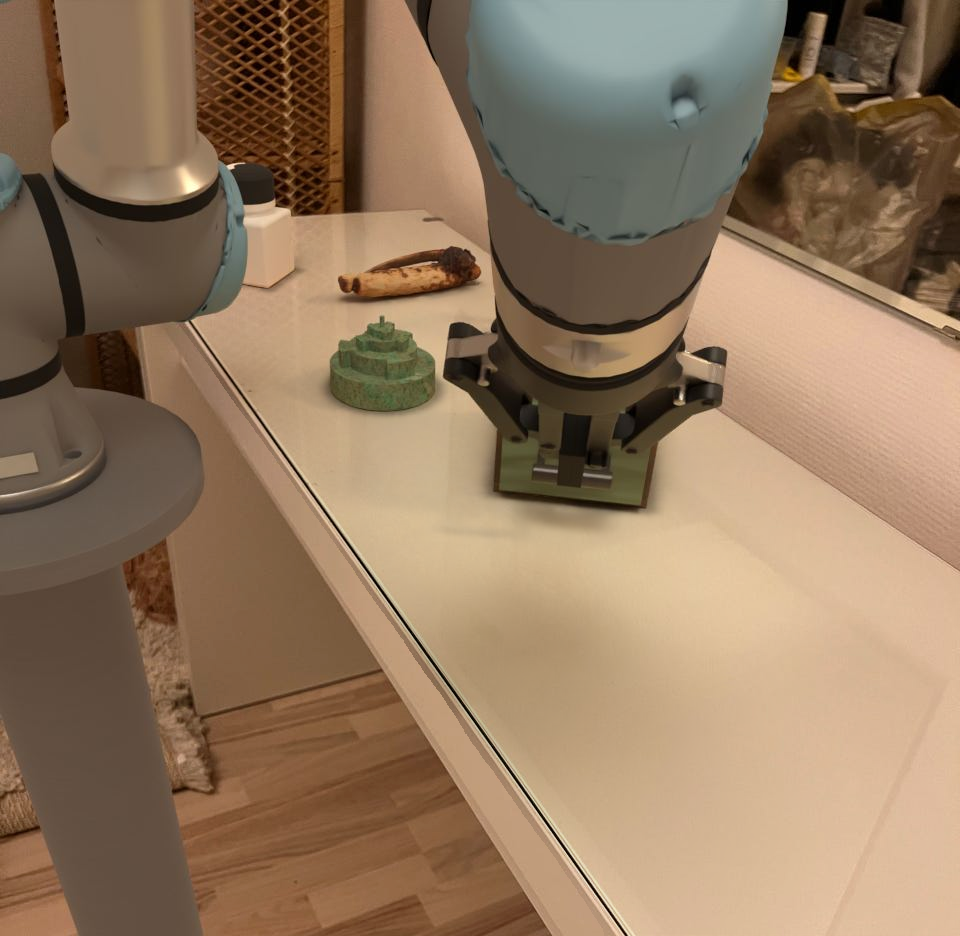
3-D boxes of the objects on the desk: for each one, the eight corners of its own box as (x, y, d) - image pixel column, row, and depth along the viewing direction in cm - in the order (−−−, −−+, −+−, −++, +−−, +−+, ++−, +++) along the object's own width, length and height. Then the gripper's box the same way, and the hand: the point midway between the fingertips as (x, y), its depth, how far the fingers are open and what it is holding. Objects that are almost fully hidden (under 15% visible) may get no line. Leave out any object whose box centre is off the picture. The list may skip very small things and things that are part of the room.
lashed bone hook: (453, 270, 124) (318, 285, 116) (455, 230, 121) (316, 243, 113) (490, 292, 117) (349, 309, 110) (493, 251, 114) (348, 266, 107)
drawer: (640, 533, 76) (656, 441, 71) (492, 517, 76) (498, 425, 72) (641, 428, 89) (655, 345, 84) (516, 415, 90) (522, 332, 85)
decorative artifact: (353, 418, 90) (452, 400, 94) (351, 344, 86) (454, 328, 90) (316, 375, 97) (409, 360, 101) (311, 304, 93) (409, 291, 96)
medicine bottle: (295, 270, 120) (288, 163, 112) (268, 289, 114) (259, 178, 107) (242, 261, 121) (231, 155, 114) (213, 280, 116) (199, 169, 108)
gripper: (409, 367, 37) (458, 513, 61) (758, 402, 36) (671, 537, 60) (435, 179, 38) (473, 395, 61) (778, 210, 37) (684, 417, 61)
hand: (571, 465), depth 61 cm, fingers closed
